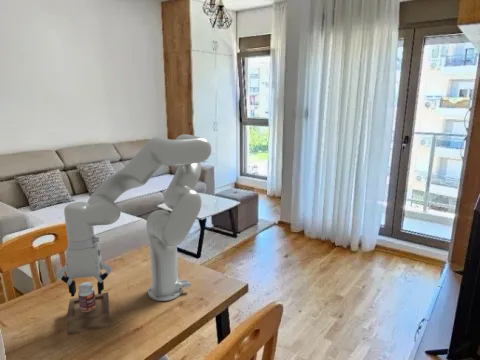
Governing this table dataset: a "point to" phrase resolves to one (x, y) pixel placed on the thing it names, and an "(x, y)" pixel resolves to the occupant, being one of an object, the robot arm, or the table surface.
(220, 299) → the table surface
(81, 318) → the walnut tray
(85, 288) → the pill bottle
